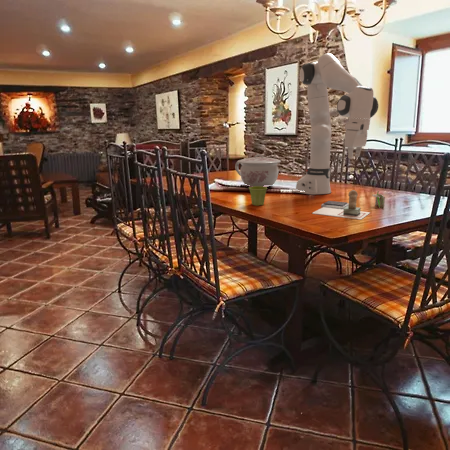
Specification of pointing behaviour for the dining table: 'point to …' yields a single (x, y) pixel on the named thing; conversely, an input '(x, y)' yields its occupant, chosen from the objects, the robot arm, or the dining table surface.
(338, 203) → the ink pad
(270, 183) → the chamber pot
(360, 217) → the paper sheet
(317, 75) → the robot arm
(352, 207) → the stamp
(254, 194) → the plant pot
